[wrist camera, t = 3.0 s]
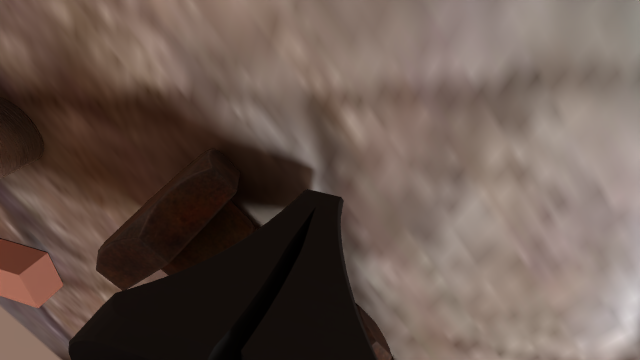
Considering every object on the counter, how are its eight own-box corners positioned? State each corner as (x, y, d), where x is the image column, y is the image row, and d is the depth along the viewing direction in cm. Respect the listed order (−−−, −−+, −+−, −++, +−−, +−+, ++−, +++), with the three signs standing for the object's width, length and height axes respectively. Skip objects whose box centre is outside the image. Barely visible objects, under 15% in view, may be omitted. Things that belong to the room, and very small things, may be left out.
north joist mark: (63, 285, 22) (38, 307, 21) (0, 265, 23) (-29, 286, 22) (47, 252, 21) (19, 275, 19) (-20, 232, 22) (-53, 252, 20)
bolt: (387, 341, 20) (198, 154, 16) (462, 372, 16) (234, 128, 11) (332, 443, 18) (87, 255, 13) (405, 512, 14) (80, 271, 9)
